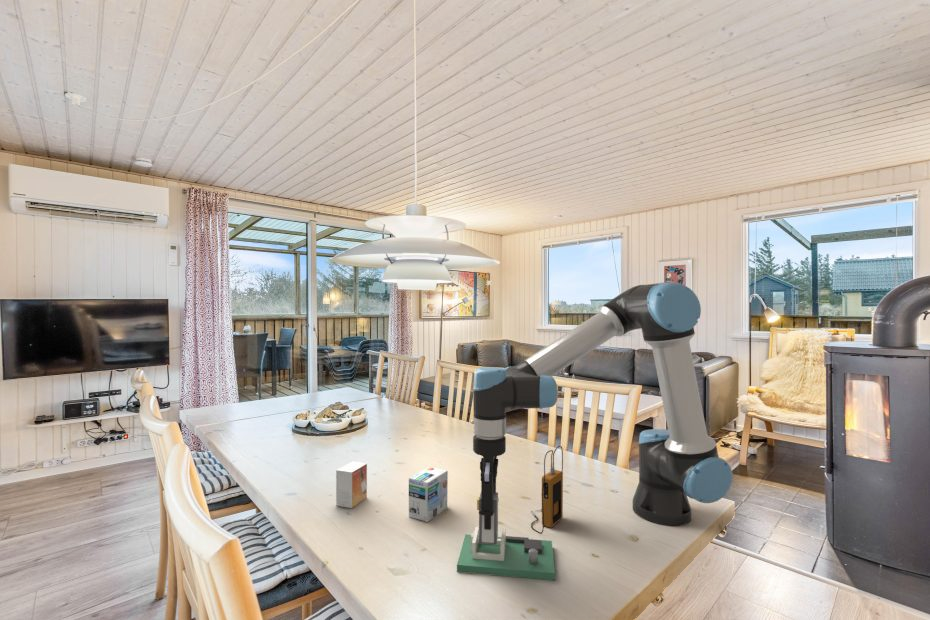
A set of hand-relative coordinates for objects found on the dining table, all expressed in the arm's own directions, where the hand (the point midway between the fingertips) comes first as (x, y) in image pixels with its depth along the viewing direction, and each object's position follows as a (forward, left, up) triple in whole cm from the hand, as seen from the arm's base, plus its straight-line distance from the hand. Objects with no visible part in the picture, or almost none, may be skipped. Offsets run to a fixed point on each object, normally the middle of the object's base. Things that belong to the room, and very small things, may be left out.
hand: (488, 536), depth 101 cm
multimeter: (-12, -21, -5) cm, 25 cm away
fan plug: (0, 0, -1) cm, 1 cm away
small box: (+43, -23, -5) cm, 49 cm away
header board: (-4, 0, -5) cm, 6 cm away
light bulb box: (+19, -20, -5) cm, 28 cm away
